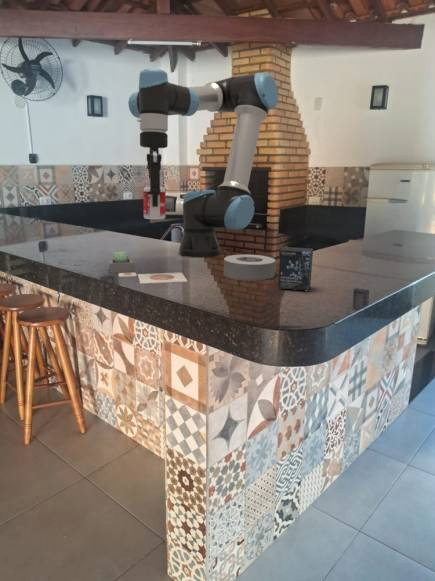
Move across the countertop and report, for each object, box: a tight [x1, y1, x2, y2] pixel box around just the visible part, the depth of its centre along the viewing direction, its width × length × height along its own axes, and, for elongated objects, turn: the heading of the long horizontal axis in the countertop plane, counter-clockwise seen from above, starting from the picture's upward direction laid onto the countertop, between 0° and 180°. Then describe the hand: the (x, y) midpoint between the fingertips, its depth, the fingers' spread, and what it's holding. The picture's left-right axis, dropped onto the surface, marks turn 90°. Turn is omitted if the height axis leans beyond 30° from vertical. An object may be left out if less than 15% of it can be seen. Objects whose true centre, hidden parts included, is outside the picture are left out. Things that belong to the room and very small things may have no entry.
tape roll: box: [223, 254, 276, 282], centre depth 131 cm, size 15×15×5 cm
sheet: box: [137, 272, 188, 285], centre depth 126 cm, size 13×11×1 cm
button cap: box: [113, 250, 129, 263], centre depth 135 cm, size 4×4×4 cm
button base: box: [108, 258, 135, 274], centre depth 135 cm, size 7×7×3 cm
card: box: [118, 272, 137, 278], centre depth 130 cm, size 5×4×1 cm
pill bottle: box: [143, 178, 167, 220], centre depth 124 cm, size 6×6×11 cm
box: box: [277, 246, 314, 291], centre depth 115 cm, size 8×6×11 cm
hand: (154, 217), depth 125 cm, fingers closed on pill bottle, 6 cm apart
